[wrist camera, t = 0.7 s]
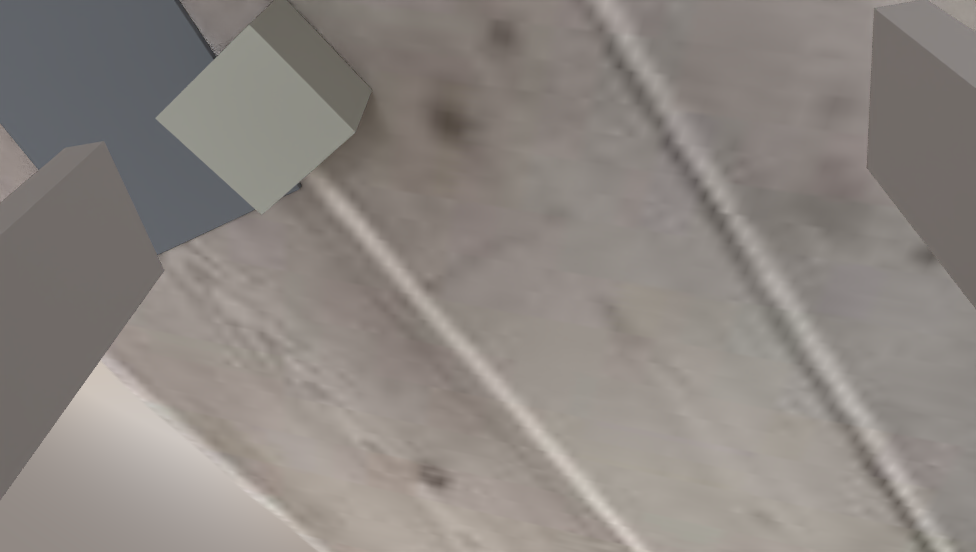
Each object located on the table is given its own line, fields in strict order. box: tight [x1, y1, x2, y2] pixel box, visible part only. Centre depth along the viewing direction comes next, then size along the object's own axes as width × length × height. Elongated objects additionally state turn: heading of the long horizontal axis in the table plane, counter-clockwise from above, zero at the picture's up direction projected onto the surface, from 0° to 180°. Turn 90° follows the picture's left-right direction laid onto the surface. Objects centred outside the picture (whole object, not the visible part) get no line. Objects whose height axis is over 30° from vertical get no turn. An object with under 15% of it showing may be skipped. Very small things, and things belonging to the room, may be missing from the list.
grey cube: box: [155, 0, 372, 215], centre depth 38 cm, size 6×6×6 cm
